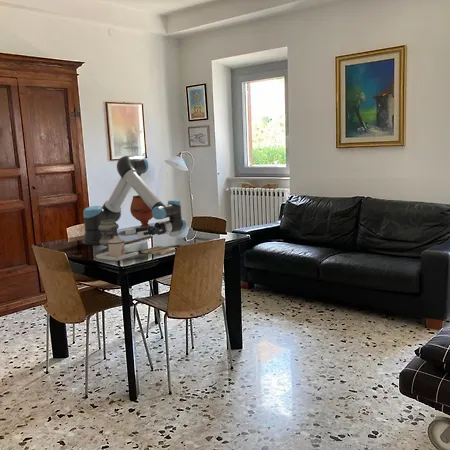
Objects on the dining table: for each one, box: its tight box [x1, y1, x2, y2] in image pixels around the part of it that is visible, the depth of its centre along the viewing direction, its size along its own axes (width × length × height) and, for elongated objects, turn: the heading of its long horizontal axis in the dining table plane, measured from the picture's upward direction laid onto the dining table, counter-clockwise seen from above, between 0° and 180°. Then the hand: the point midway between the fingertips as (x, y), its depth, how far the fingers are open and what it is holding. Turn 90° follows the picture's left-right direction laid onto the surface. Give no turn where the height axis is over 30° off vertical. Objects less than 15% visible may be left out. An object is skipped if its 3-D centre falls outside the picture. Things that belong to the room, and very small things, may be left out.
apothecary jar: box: [98, 220, 120, 253], centre depth 288 cm, size 12×12×18 cm
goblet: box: [129, 194, 154, 227], centre depth 358 cm, size 19×19×25 cm
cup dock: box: [95, 251, 139, 262], centre depth 274 cm, size 23×16×2 cm
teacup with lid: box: [108, 236, 126, 257], centre depth 272 cm, size 12×9×12 cm
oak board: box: [140, 245, 176, 256], centre depth 280 cm, size 16×14×1 cm
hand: (131, 233), depth 277 cm, fingers open, 13 cm apart
